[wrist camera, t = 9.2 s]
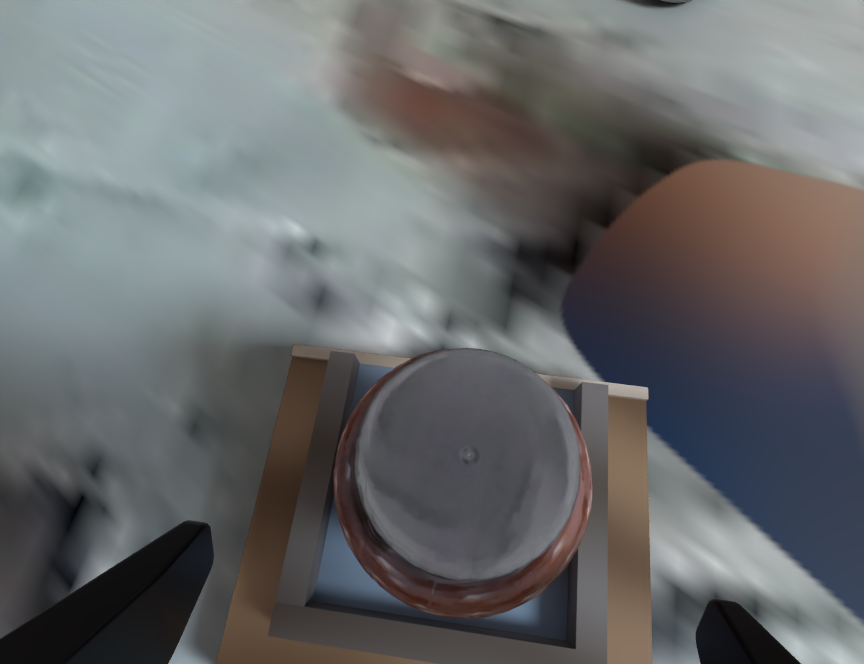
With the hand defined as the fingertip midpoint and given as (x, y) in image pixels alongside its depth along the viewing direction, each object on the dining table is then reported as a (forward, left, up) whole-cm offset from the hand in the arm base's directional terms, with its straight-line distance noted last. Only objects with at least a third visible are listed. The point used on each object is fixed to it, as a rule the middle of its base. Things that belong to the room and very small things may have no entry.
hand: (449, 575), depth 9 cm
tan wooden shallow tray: (+1, 0, -13) cm, 13 cm away
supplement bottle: (+2, -1, -10) cm, 10 cm away
